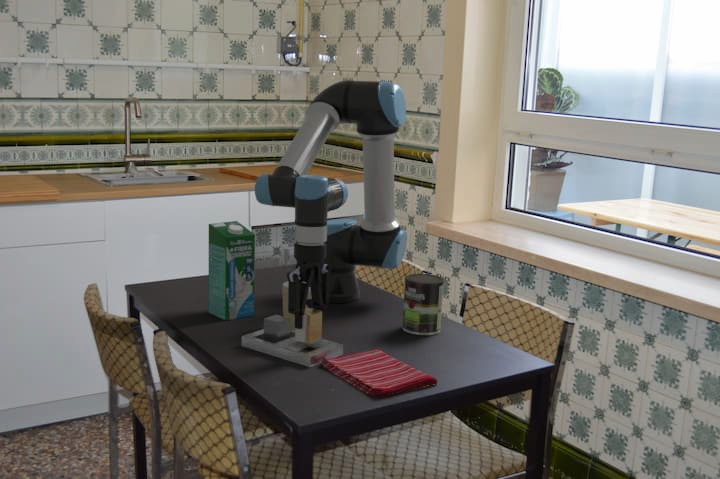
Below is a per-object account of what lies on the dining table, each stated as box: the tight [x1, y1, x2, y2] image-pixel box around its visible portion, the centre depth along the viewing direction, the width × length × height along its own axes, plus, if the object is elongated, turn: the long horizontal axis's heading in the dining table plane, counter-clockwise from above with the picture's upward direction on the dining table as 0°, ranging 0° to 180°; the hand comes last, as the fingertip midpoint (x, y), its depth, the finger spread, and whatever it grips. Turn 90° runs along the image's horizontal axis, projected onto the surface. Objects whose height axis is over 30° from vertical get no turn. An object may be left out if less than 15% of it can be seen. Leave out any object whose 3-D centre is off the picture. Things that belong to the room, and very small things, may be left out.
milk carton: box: [208, 220, 256, 321], centre depth 228 cm, size 9×9×25 cm
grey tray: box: [241, 328, 344, 368], centre depth 203 cm, size 12×22×2 cm, turn 53°
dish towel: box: [319, 349, 438, 398], centre depth 189 cm, size 17×24×3 cm
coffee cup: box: [281, 280, 314, 331], centre depth 219 cm, size 9×9×12 cm
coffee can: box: [401, 273, 445, 336], centre depth 222 cm, size 10×10×14 cm
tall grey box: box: [263, 314, 290, 343], centre depth 205 cm, size 4×4×7 cm
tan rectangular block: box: [295, 308, 323, 344], centre depth 199 cm, size 4×4×7 cm
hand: (307, 338), depth 199 cm, fingers closed on tan rectangular block, 4 cm apart
